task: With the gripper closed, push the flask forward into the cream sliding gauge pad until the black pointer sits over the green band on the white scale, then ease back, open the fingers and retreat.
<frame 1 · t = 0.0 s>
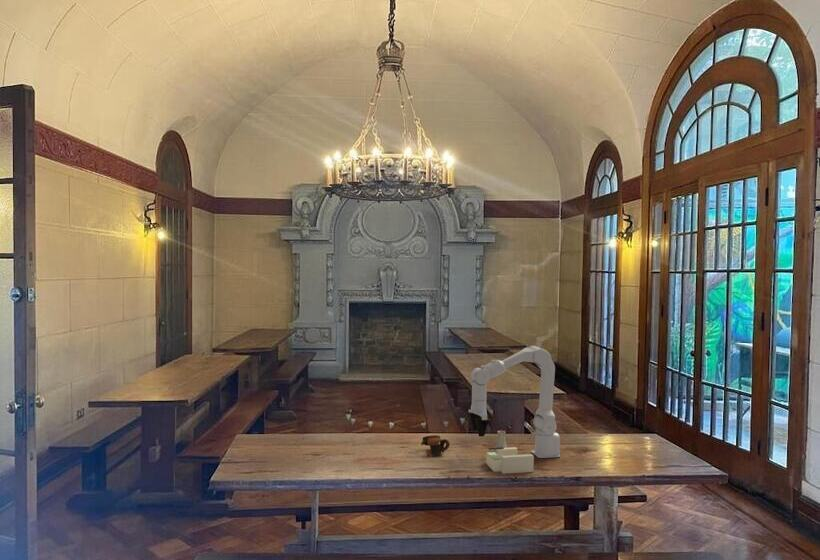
hand: (478, 433, 229), 10 cm above the table, tool pointing down, fingers open, 7 cm apart
flask: (500, 456, 232), on the table
pottery mug: (435, 453, 235), on the table
gauge pad: (502, 454, 226), point 3 cm above the table, slide at 0.0 cm
gauge frame: (511, 466, 222), on the table
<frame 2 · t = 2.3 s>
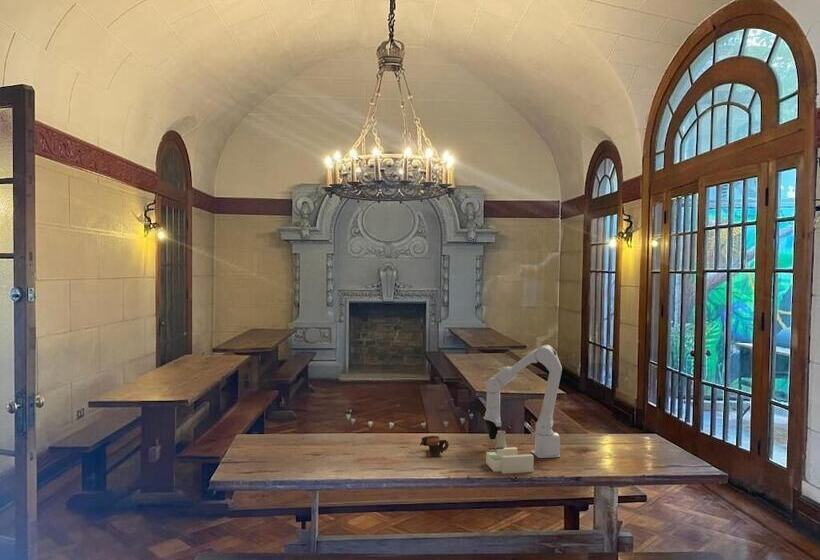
hand: (492, 438, 242), 4 cm above the table, tool pointing down, fingers closed
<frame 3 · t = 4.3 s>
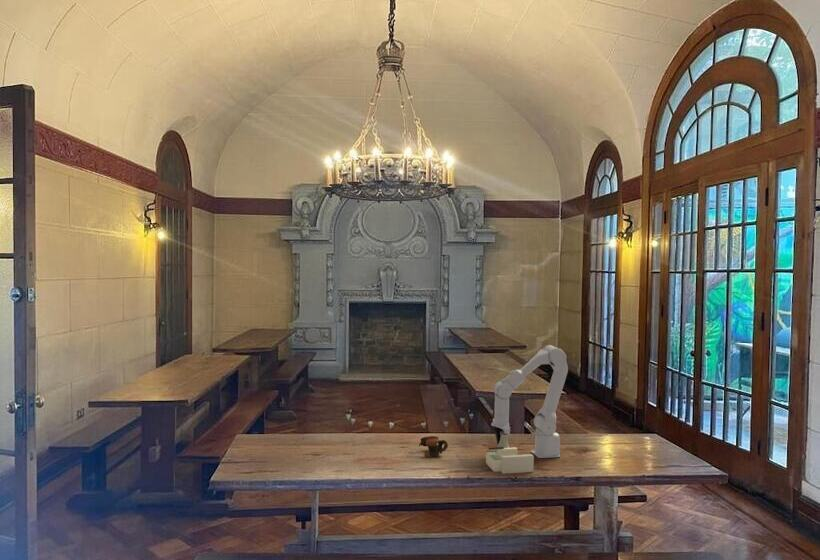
hand: (500, 446, 232), 4 cm above the table, tool pointing down, fingers closed, pressing on flask
flask: (502, 456, 231), on the table, touching gripper
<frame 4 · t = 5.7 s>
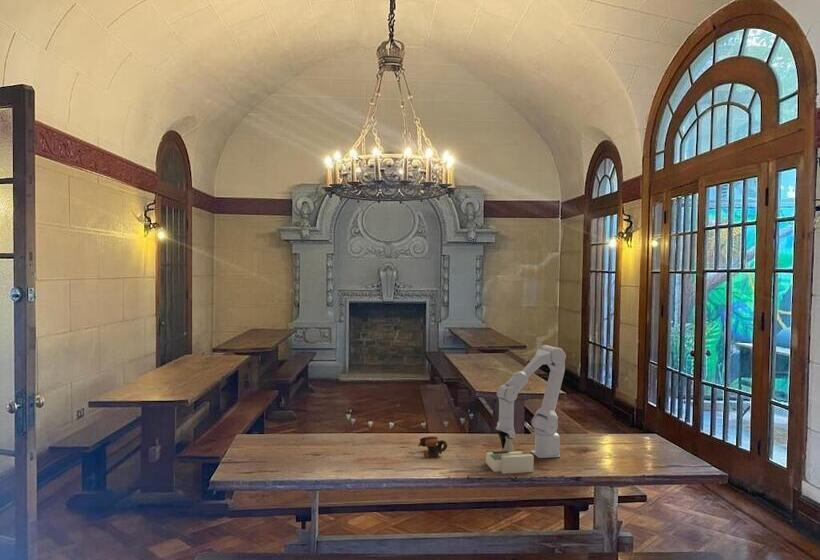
hand: (505, 450, 227), 4 cm above the table, tool pointing down, fingers closed
flask: (507, 461, 225), on the table, touching gauge pad, gripper
gauge pad: (507, 458, 221), point 3 cm above the table, slide at 4.9 cm, touching flask
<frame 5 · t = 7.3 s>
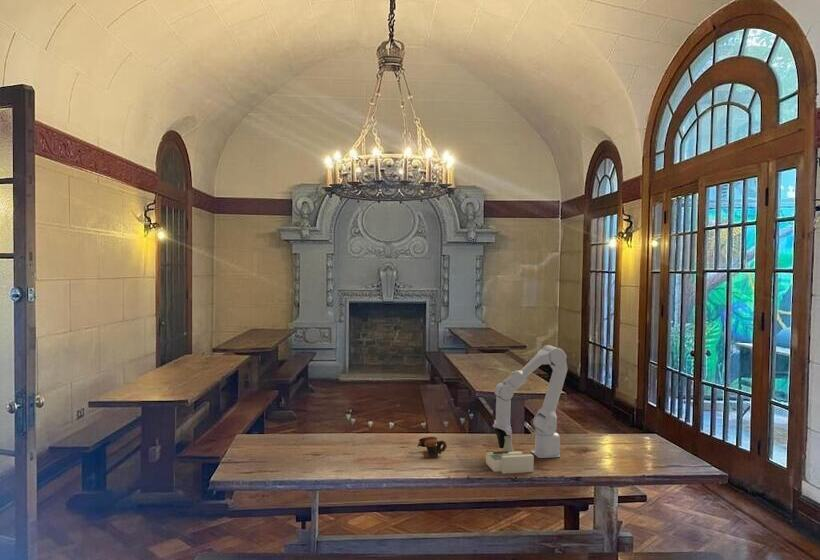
hand: (502, 447, 231), 4 cm above the table, tool pointing down, fingers closed
flask: (507, 463, 225), on the table
gauge pad: (507, 458, 221), point 3 cm above the table, slide at 5.0 cm
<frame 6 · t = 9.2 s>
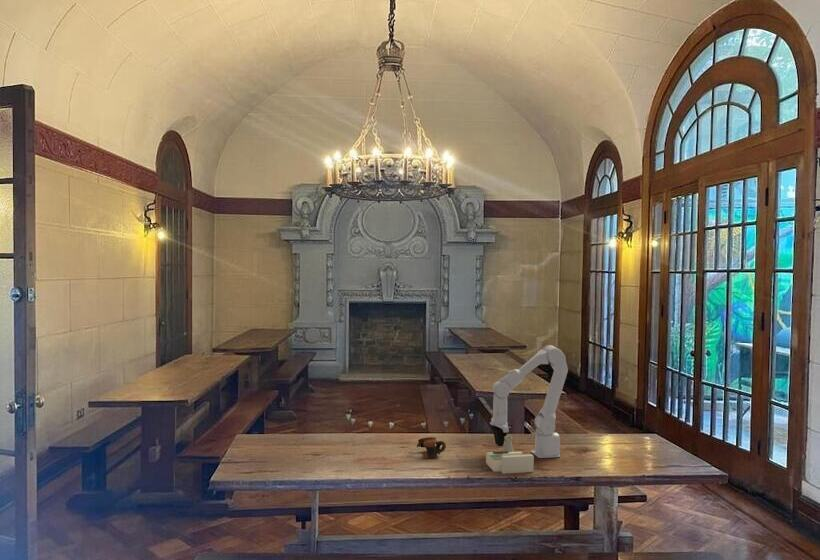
hand: (499, 445, 234), 4 cm above the table, tool pointing down, fingers closed
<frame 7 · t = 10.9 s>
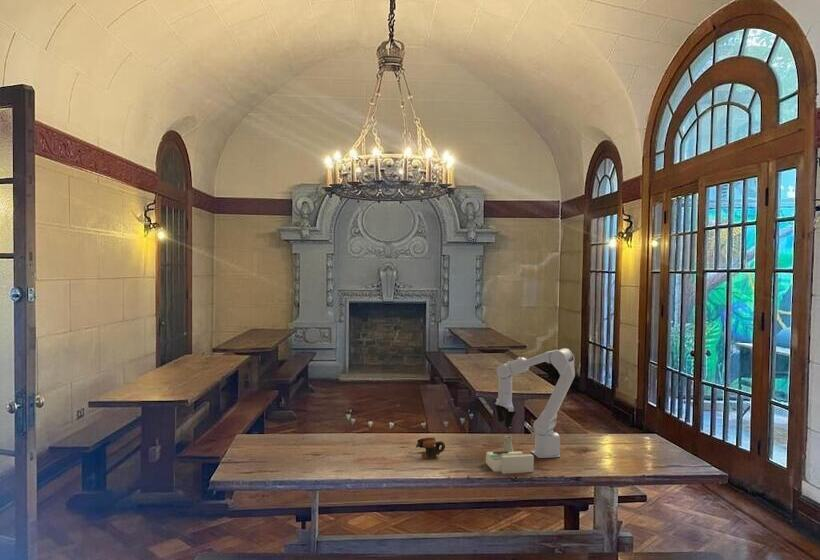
hand: (504, 424, 245), 9 cm above the table, tool pointing down, fingers open, 7 cm apart
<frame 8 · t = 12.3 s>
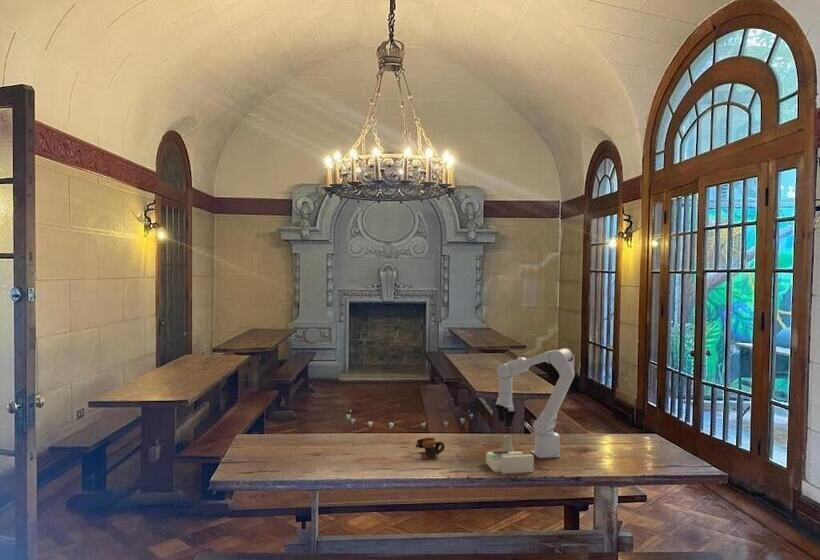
hand: (504, 423, 245), 9 cm above the table, tool pointing down, fingers open, 7 cm apart
at the end: gauge pad slide at 5.0 cm; flask tilted 0°; the gripper is holding nothing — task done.
